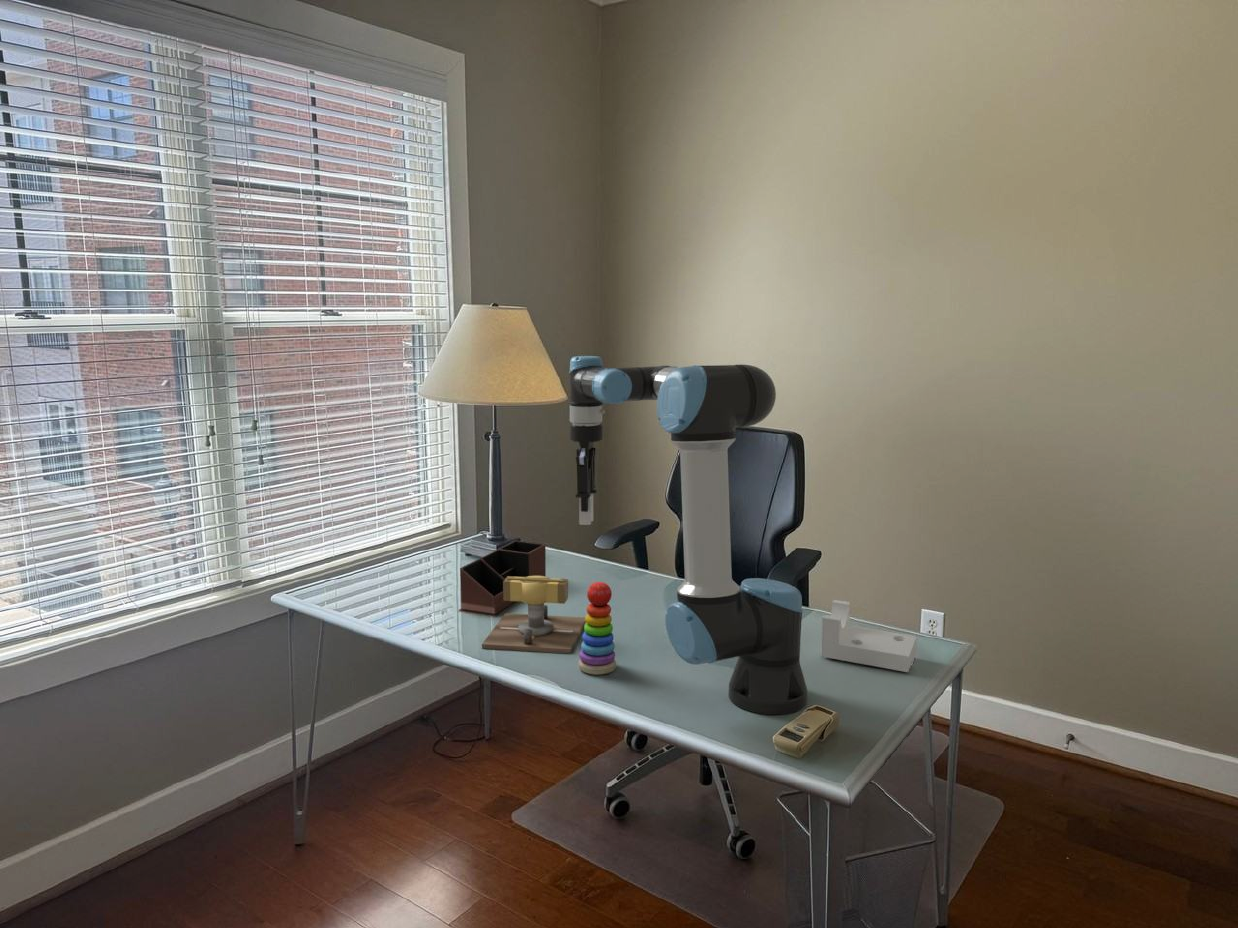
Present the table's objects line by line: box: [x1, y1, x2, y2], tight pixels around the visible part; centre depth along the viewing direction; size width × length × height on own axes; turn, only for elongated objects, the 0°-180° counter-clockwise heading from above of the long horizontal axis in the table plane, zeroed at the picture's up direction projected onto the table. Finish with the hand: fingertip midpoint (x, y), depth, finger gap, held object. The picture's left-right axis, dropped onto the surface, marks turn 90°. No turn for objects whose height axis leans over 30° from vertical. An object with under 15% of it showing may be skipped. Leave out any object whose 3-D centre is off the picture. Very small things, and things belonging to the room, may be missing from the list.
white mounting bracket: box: [821, 599, 918, 673], centre depth 192 cm, size 18×10×10 cm, turn 63°
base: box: [481, 603, 586, 654], centre depth 205 cm, size 20×20×8 cm
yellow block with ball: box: [503, 576, 569, 605], centre depth 204 cm, size 14×7×5 cm, turn 82°
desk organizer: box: [457, 540, 547, 618], centre depth 232 cm, size 10×29×11 cm, turn 158°
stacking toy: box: [577, 581, 617, 676], centre depth 185 cm, size 8×8×19 cm
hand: (586, 522), depth 210 cm, fingers open, 3 cm apart
